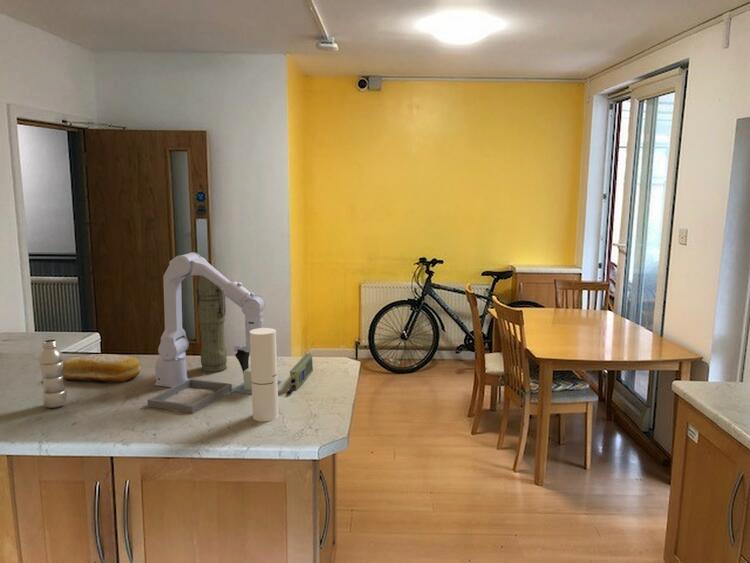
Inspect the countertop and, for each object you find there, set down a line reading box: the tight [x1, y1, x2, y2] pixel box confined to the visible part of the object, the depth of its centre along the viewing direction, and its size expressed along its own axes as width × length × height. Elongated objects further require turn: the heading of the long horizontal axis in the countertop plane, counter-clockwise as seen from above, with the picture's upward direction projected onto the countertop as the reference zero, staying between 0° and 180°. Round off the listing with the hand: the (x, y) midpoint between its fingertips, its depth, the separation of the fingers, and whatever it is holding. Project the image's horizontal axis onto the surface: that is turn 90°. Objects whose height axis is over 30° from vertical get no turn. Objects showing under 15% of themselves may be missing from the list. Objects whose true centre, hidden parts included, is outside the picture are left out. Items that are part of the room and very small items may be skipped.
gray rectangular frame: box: [147, 377, 233, 414], centre depth 175 cm, size 16×20×2 cm
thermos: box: [195, 275, 228, 374], centre depth 199 cm, size 9×12×35 cm
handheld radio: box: [286, 353, 314, 396], centre depth 188 cm, size 7×3×25 cm
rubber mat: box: [230, 379, 282, 396], centre depth 184 cm, size 11×13×1 cm
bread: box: [63, 353, 141, 384], centre depth 193 cm, size 13×26×8 cm, turn 83°
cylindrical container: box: [249, 327, 279, 423], centre depth 159 cm, size 7×7×25 cm
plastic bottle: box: [38, 339, 68, 409], centre depth 167 cm, size 6×7×20 cm
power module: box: [242, 366, 252, 390], centre depth 184 cm, size 4×8×7 cm, turn 161°
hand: (255, 374), depth 184 cm, fingers open, 7 cm apart
